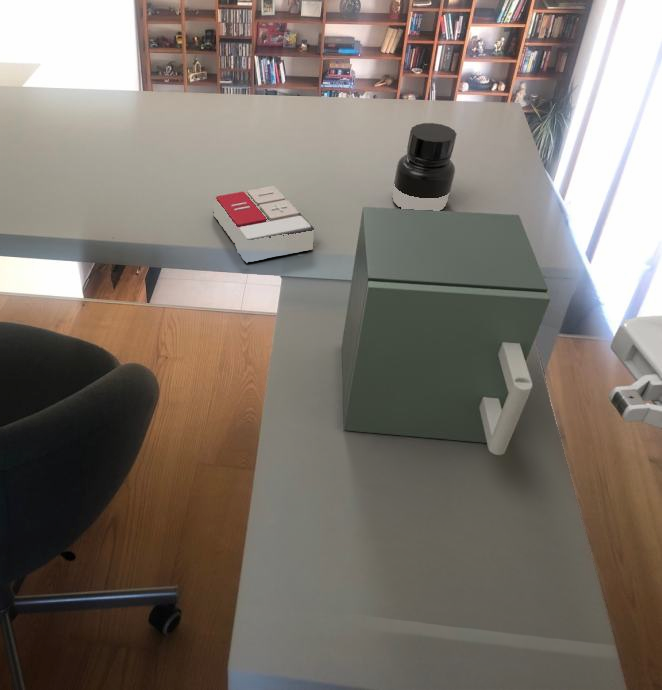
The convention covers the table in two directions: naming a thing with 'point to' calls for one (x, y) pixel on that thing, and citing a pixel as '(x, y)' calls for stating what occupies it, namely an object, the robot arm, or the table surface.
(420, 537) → the table surface
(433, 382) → the cabinet door
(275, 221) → the calculator
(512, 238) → the green cabinet
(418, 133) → the ink bottle
